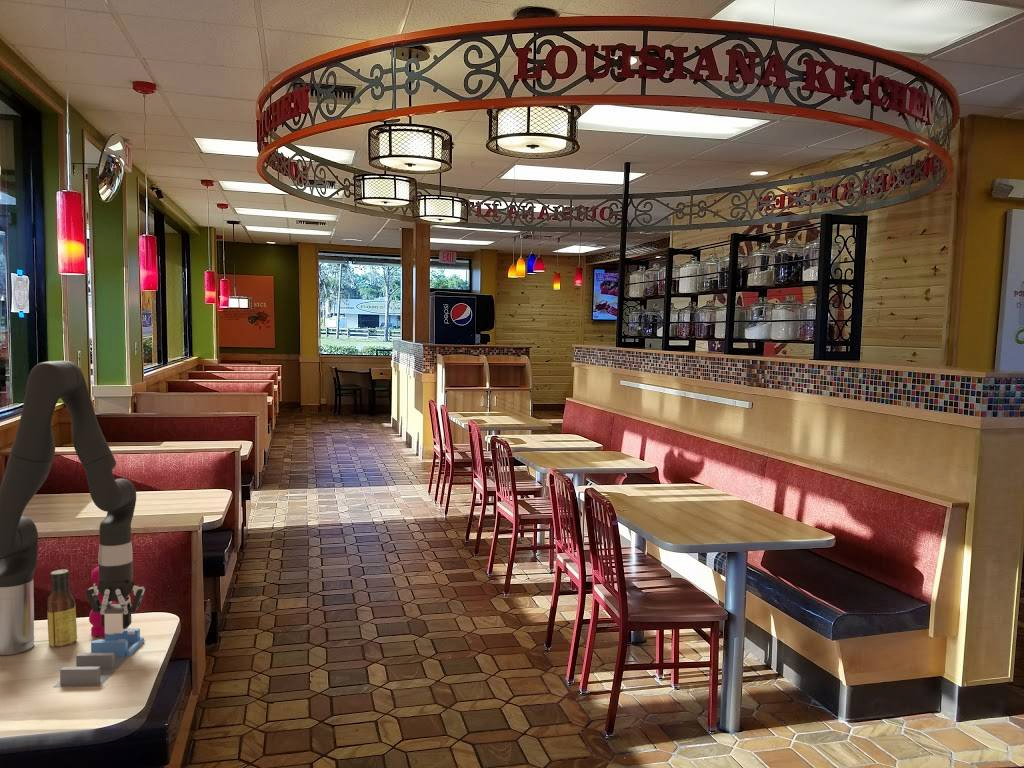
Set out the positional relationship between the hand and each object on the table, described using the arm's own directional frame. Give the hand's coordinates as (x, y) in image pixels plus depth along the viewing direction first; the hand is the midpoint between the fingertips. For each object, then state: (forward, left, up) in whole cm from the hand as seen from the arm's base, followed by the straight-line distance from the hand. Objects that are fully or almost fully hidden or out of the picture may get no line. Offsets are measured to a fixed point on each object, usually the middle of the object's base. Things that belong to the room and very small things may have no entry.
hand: (116, 627), depth 190 cm
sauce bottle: (-15, +5, -7) cm, 17 cm away
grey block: (0, 0, -1) cm, 1 cm away
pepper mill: (-9, +15, -7) cm, 19 cm away
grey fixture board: (0, -7, -7) cm, 10 cm away
